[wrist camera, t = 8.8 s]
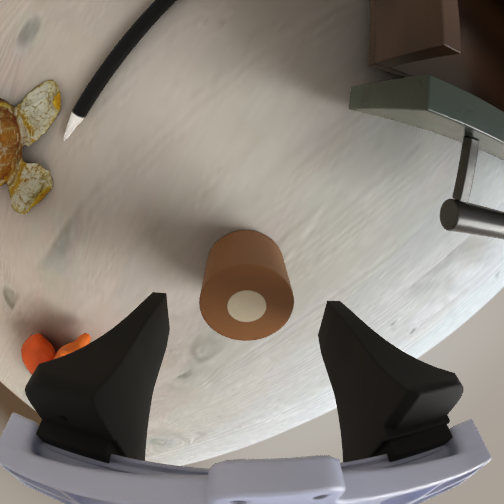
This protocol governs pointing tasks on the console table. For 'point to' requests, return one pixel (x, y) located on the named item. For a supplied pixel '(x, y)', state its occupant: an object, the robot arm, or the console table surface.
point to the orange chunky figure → (47, 350)
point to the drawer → (443, 86)
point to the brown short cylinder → (246, 287)
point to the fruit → (26, 132)
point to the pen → (115, 61)
